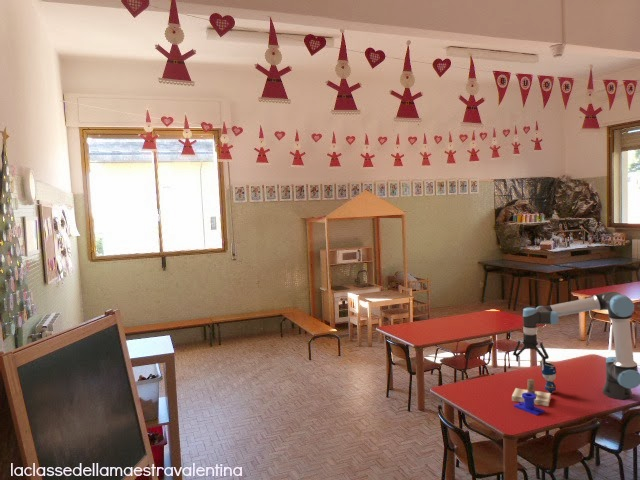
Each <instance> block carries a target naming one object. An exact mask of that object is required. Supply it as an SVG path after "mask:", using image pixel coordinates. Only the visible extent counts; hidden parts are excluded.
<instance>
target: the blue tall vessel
mask: <svg viewBox="0 0 640 480" xmlns="http://www.w3.org/2000/svg"><path fill="white" fill-rule="evenodd" d="M539 365H540V369H541V374H542V377H543V378H544V380H546V383H545V385H544V390H545V391H546V392H548V393H551V394H554V392H556V391H557V385H556V384H555V382H554V381H555V380H556V379H557V369H556V365H555V364H554V363H551V362H547V361H546V363H545V365H544V370H542V360H539Z"/></svg>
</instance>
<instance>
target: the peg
mask: <svg viewBox="0 0 640 480" xmlns="http://www.w3.org/2000/svg"><path fill="white" fill-rule="evenodd" d="M526 381H527V390H528V393H533V394H535V391H536V384H535V383H536V381H535V379H533V378H527V380H526Z"/></svg>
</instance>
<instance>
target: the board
mask: <svg viewBox="0 0 640 480" xmlns="http://www.w3.org/2000/svg"><path fill="white" fill-rule="evenodd" d="M523 393H528V389H524V388H517V387H515V389H514V391H513V392H512V395H511V401H512V402H518V403H521V402H524V398H523V397H522V394H523ZM551 394H552V393H549V392H547V391H546V392H545V391H540V390H539V391H538V390H535V395H536V399H534V405H537V406H543V407H549V406H550V402H551V397H552V395H551Z"/></svg>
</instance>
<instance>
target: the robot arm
mask: <svg viewBox="0 0 640 480" xmlns="http://www.w3.org/2000/svg"><path fill="white" fill-rule="evenodd" d="M594 310H597V311H607V313H608V319H609V320H611V321H612V331H613V333H612V334H613V342H614V351H615V356H608V357H606V359H605V360H606V361H605V369H606V370H605V371H606V372H605V373H606V376H605V378H606V380H605V383H604V385H603V388H602V393H603V395H604V396H606V397H609V398H613V399H615V400H616V399H617V400H629V399H630V400H631V399H632V398H633V391H632V389H634V388H637V387H638V386H640V372H639V370H638V369H639V368H638V363H637V362H636V361H635V360H634V353H633V341H632V340H633V339H632V333H631V331H632V330H631V324H630V323H631V321H630V320H632V319H633V312H634V310H635V304H634V302H633V300H632V299H631V298H630V297H628V296H627V295H624V294H621V293H620V292H617V291H607V292H602V293H597V294H594V295H593V296H590V297H587V298H582V299H576V300H570V301H567V302H566V301H565V302H560V303H556V304H551V305H545V306H543V305H538V306H537V307H525V308H523V309H522V324H523V325H522V328H523V329H522V332H523V334H522V335H523V337H522V338H523V340H520V339H519V340H518V341H517V345H516V347H515V349H514V351H513V352H512V355H513V356H515V358H516V359H515V361H516V362H517V367H518V369H519V368H520V367H521V356H520V355H521V354H522V353H523V352H524V351H525V349H527V350H535V352H536V353H537V354H538V355H539V356H540V357H541V361H542V370H544V365H545V363H546V362H547V361H546V360H548V359H549V358H550V356H549V354H548V353H547V350H546V348H545V346H544V343H543V341H541V342H538V329H537V326H538V325H557V324H559V321H560V317H563V316H568V315H572V314H573V315H574V314H578V313H583V312H584V313H585V312H589V311H594ZM522 344H523V346H522V348H521V349H520V350H519V351H518V349H519V348H520V346H521V345H522ZM538 346H539V347H540V349H541V350H542V351H541V350H540V349H539V347H538Z"/></svg>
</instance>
